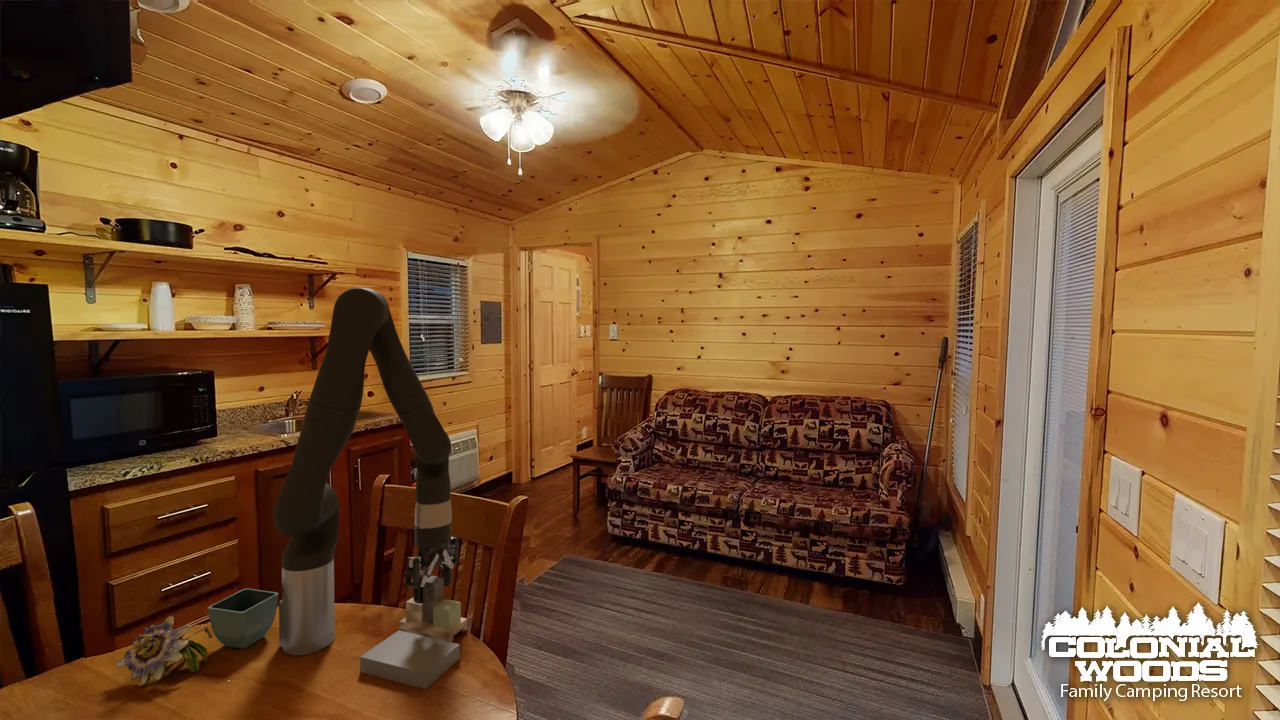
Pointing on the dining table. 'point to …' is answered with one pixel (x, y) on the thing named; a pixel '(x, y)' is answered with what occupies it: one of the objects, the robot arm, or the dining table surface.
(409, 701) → the dining table surface
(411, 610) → the cream block
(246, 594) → the flower pot
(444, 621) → the green block
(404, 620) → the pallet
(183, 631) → the passion flower
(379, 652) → the dock
